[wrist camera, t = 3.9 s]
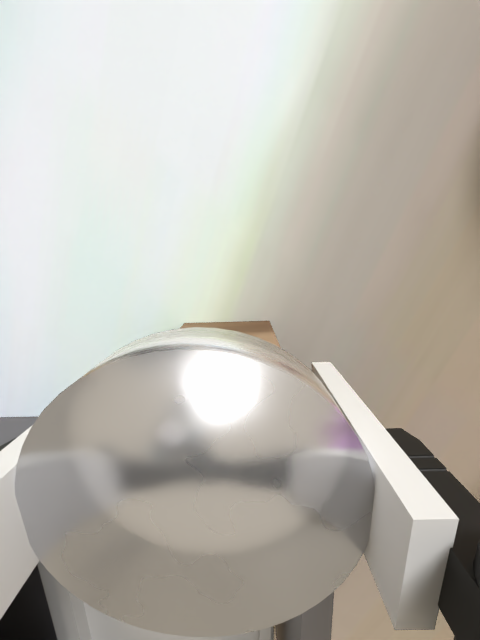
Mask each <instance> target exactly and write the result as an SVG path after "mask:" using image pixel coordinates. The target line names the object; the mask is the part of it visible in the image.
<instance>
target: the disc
mask: <svg viewBox="0 0 480 640" xmlns="http://www.w3.org/2000/svg"><path fill="white" fill-rule="evenodd" d="M374 493H375V485H374V477H373V474H372V470H371V467H370V464H369V461H368V457H367V455H366V453H365V451H364V449H363V447H362V445H361V443H360V441H359V439H358V437H357V436H356V434H355V432H354V431H353V429H352V428H351V426H350V425H349V423H348V421H347V420H346V418H345V417H344V415H343V413H342V412H341V410H340V409H339V407H338V406H337V404H336V402H335V401H334V399H333V398H332V396H331V395H330V393H329V392H328V390H327V389H326V388H325V386H324V385H323V383H322V382H321V381H320V380H319V379H318V378H317V376H316V375H315V374H314V373H313V372H312V371H311V370H310V369H309V368H308V367H307V366H305V365H304V364H303V363H302V362H300V361H299V360H298V359H297V358H295V357H294V356H293V355H291V354H290V353H288V352H286V351H285V350H283V349H281V348H280V347H278V346H276V345H274V344H272V343H269V342H267V341H265V340H263V339H260V338H258V337H255V336H252V335H248V334H245V333H241V332H238V331H232V330H226V329H220V328H204V327H191V328H181V329H172V330H168V331H163V332H159V333H154V334H151V335H149V336H146V337H143V338H141V339H138V340H135V341H133V342H131V343H129V344H128V345H126V346H124V347H122V348H120V349H118V350H117V351H115V352H114V353H113V354H111V355H110V356H109V357H107V358H106V359H104V360H103V361H102V362H100V363H99V364H98V365H97V366H95V367H94V368H93V369H91V370H90V371H89V372H87V373H86V374H85V375H83V376H82V377H81V378H80V379H78V380H77V381H76V382H74V383H73V384H72V385H70V386H69V387H68V388H67V389H65V390H64V391H63V392H61V393H60V394H59V395H58V396H57V397H56V398H55V399H54V400H53V401H52V402H51V403H50V404H49V405H48V406H47V407H46V408H45V409H44V410H43V412H42V413H41V414H40V416H39V417H38V418H37V420H36V421H35V423H34V424H33V425H32V427H31V429H30V431H29V433H28V435H27V437H26V439H25V441H24V443H23V445H22V448H21V452H20V455H19V458H18V462H17V466H16V475H15V497H16V500H17V503H18V507H19V510H20V513H21V517H22V520H23V523H24V527H25V530H26V533H27V536H28V540H29V543H30V546H31V547H32V549H33V551H34V553H35V554H36V556H37V557H38V559H39V560H40V561H41V563H42V564H43V565H44V566H45V568H46V569H47V570H48V571H49V573H50V574H51V575H52V576H53V577H54V578H55V579H56V580H57V581H58V582H59V583H60V584H61V585H62V586H64V587H65V588H66V589H67V590H68V591H70V592H71V593H72V594H73V595H75V596H76V597H77V598H79V599H80V600H82V601H83V602H85V603H86V604H88V605H89V606H91V607H92V608H94V609H96V610H98V611H100V612H102V613H104V614H106V615H108V616H110V617H112V618H114V619H117V620H119V621H122V622H124V623H127V624H129V625H132V626H136V627H139V628H142V629H146V630H149V631H154V632H159V633H164V634H170V635H178V636H186V637H220V636H231V635H238V634H245V633H250V632H254V631H258V630H262V629H266V628H269V627H272V626H274V625H277V624H280V623H283V622H285V621H288V620H290V619H292V618H294V617H296V616H298V615H300V614H302V613H304V612H306V611H307V610H309V609H310V608H312V607H314V606H315V605H317V604H318V603H320V602H321V601H322V600H324V599H325V598H326V597H327V596H329V595H330V594H331V593H332V592H333V591H334V590H335V589H337V588H338V587H339V586H340V585H341V584H342V583H343V582H344V581H345V579H346V578H347V577H348V576H349V574H350V573H351V572H352V570H353V569H354V568H355V566H356V565H357V563H358V561H359V560H360V558H361V556H362V554H363V553H364V551H365V549H366V546H367V543H368V541H369V535H370V527H371V518H372V510H373V502H374Z"/></svg>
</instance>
